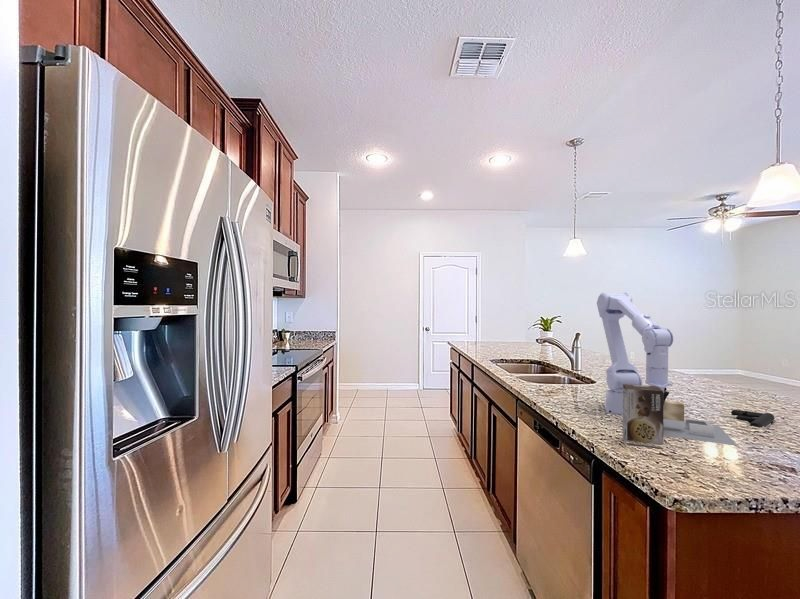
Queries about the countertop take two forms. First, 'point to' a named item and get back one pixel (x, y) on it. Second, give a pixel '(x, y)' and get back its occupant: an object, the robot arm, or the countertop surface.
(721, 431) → the board
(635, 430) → the coffee box
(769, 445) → the countertop surface
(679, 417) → the slat
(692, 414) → the countertop surface
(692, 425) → the end cap
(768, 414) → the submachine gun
